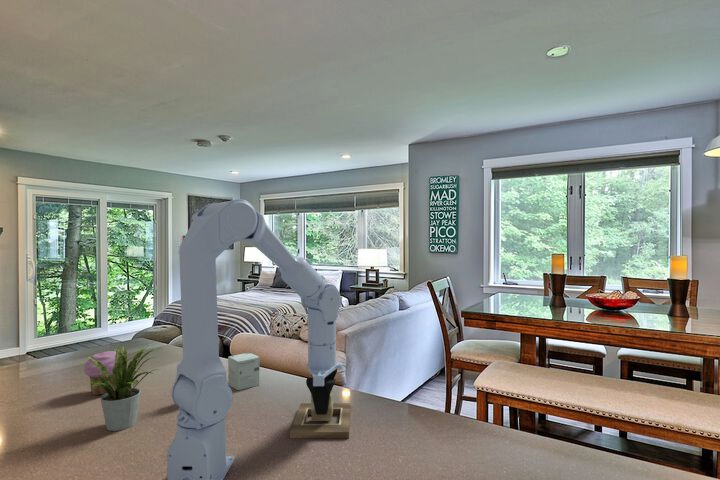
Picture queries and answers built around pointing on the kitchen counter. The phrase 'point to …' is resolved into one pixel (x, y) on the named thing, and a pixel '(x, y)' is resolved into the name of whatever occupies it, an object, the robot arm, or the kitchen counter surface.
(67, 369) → the kitchen counter surface
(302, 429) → the plate
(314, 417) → the beige block with stripe
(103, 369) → the house plant
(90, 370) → the cupcake
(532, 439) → the kitchen counter surface
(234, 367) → the skincare box
